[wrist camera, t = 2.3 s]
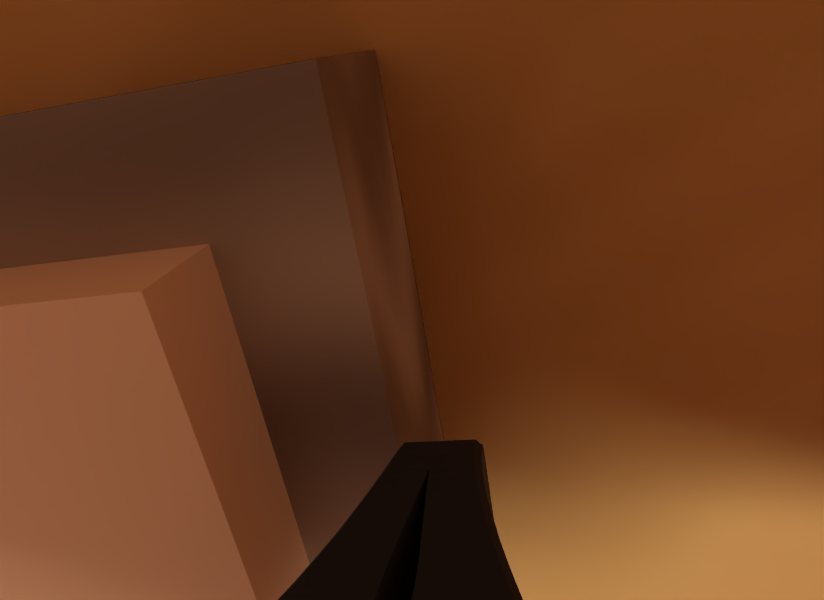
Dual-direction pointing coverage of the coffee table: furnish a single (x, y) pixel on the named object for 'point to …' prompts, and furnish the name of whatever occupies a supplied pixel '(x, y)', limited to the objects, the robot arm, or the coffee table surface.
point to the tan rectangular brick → (134, 438)
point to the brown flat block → (256, 247)
